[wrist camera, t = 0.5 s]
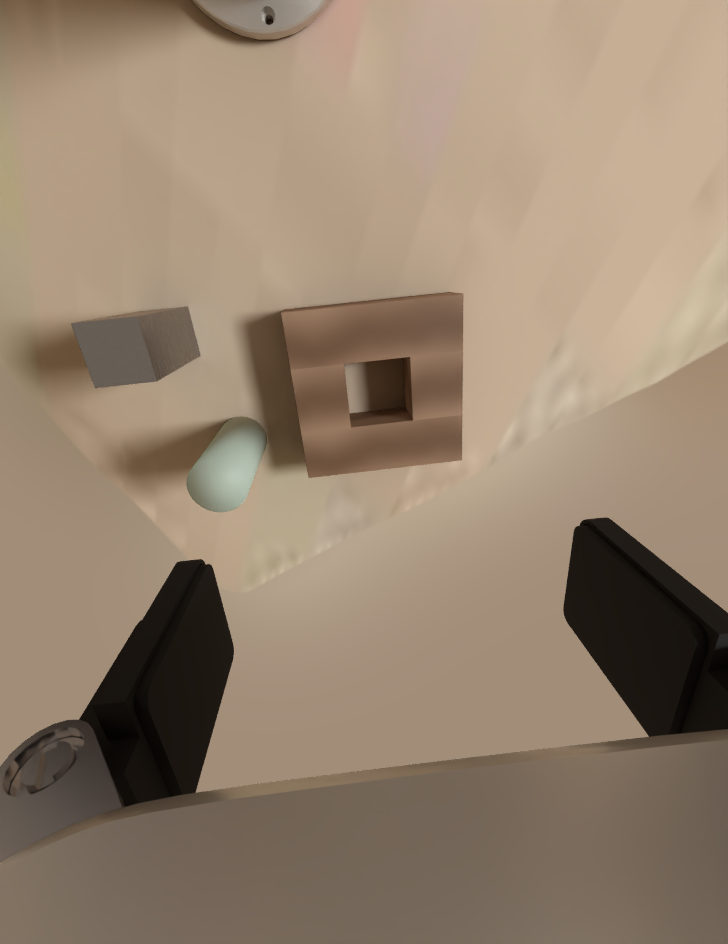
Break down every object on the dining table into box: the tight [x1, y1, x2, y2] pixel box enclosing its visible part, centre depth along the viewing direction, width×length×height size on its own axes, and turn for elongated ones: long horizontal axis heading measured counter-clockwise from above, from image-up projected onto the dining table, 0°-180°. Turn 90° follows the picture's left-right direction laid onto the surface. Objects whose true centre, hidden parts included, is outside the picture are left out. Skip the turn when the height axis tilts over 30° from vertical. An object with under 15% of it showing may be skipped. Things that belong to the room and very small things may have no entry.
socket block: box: [281, 292, 463, 478], centre depth 36 cm, size 14×14×4 cm
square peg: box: [71, 307, 200, 388], centre depth 31 cm, size 4×4×10 cm
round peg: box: [187, 417, 267, 512], centre depth 35 cm, size 4×4×10 cm
